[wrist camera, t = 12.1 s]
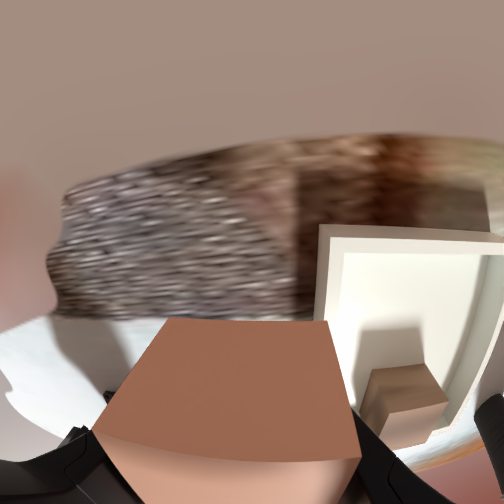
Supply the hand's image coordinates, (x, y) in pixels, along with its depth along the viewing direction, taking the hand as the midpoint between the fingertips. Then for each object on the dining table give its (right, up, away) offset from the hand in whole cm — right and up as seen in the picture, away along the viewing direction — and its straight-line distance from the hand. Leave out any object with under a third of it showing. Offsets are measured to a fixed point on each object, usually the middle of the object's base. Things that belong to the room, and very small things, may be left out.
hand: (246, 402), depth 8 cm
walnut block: (+12, -7, +11) cm, 18 cm away
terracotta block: (0, 0, +1) cm, 1 cm away
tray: (+12, -2, +11) cm, 17 cm away
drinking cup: (+30, -15, +13) cm, 36 cm away
